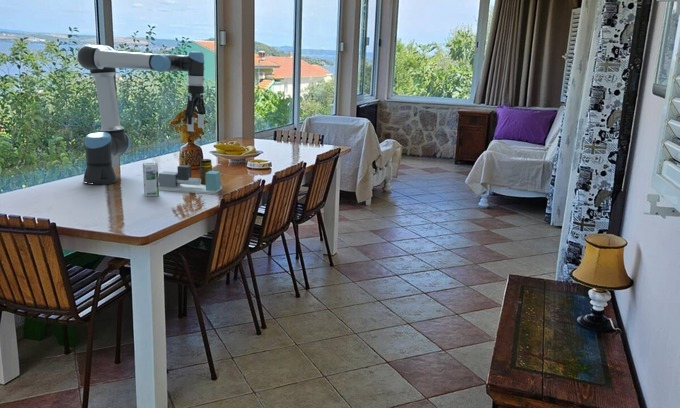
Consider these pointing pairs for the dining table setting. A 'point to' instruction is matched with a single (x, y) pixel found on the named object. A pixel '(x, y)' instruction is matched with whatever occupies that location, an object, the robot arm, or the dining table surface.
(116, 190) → the dining table surface
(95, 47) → the robot arm
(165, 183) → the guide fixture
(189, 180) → the tube
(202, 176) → the condiment
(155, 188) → the syrup box
